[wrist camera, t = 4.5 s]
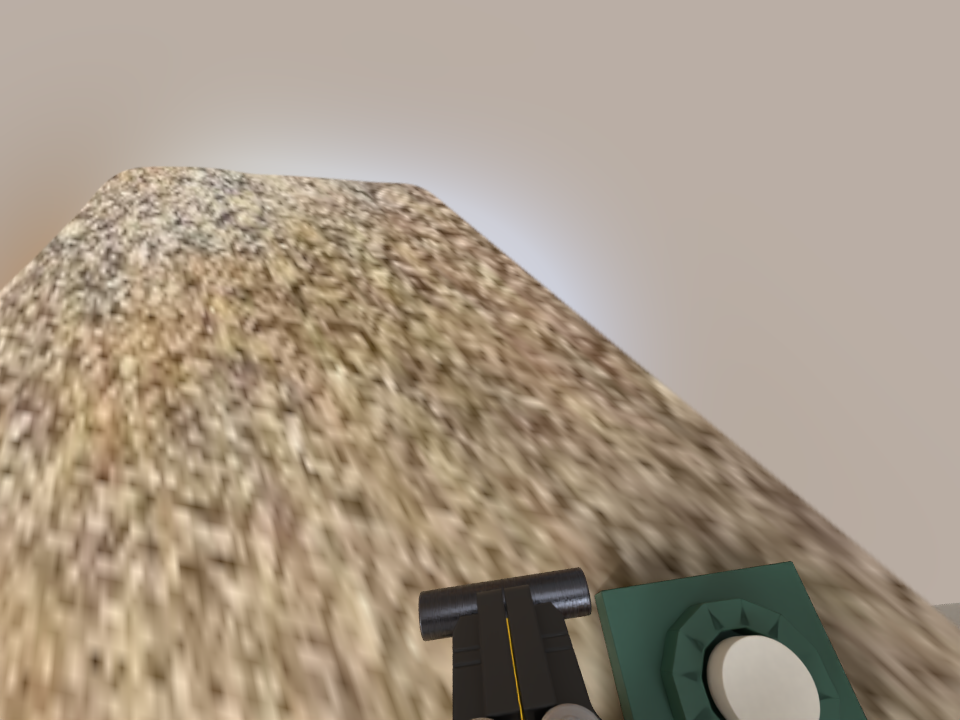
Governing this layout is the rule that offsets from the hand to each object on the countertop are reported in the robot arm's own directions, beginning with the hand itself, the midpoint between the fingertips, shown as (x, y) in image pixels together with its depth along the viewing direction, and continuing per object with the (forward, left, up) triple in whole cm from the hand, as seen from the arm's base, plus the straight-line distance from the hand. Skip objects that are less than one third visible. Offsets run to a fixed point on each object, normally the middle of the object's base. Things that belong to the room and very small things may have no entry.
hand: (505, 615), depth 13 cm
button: (-10, +3, -10) cm, 15 cm away
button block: (-10, +3, -13) cm, 17 cm away
